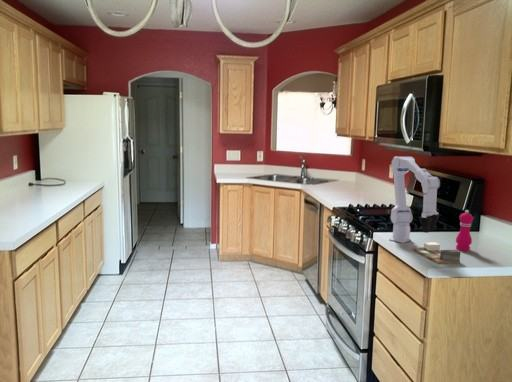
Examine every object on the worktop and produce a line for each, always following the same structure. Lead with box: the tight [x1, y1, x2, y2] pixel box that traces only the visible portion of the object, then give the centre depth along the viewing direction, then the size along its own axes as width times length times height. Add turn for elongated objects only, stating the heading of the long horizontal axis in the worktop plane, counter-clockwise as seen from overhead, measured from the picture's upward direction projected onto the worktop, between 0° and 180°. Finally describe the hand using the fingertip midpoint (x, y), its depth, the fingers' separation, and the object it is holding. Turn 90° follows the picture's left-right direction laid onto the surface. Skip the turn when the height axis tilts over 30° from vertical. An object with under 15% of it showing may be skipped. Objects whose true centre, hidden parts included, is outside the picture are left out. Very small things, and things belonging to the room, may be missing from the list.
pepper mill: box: [455, 209, 474, 252], centre depth 220 cm, size 7×7×20 cm
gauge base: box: [411, 246, 461, 264], centre depth 209 cm, size 21×12×5 cm, turn 12°
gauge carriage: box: [419, 241, 441, 251], centre depth 215 cm, size 4×10×3 cm, turn 102°
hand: (428, 231), depth 210 cm, fingers open, 7 cm apart
